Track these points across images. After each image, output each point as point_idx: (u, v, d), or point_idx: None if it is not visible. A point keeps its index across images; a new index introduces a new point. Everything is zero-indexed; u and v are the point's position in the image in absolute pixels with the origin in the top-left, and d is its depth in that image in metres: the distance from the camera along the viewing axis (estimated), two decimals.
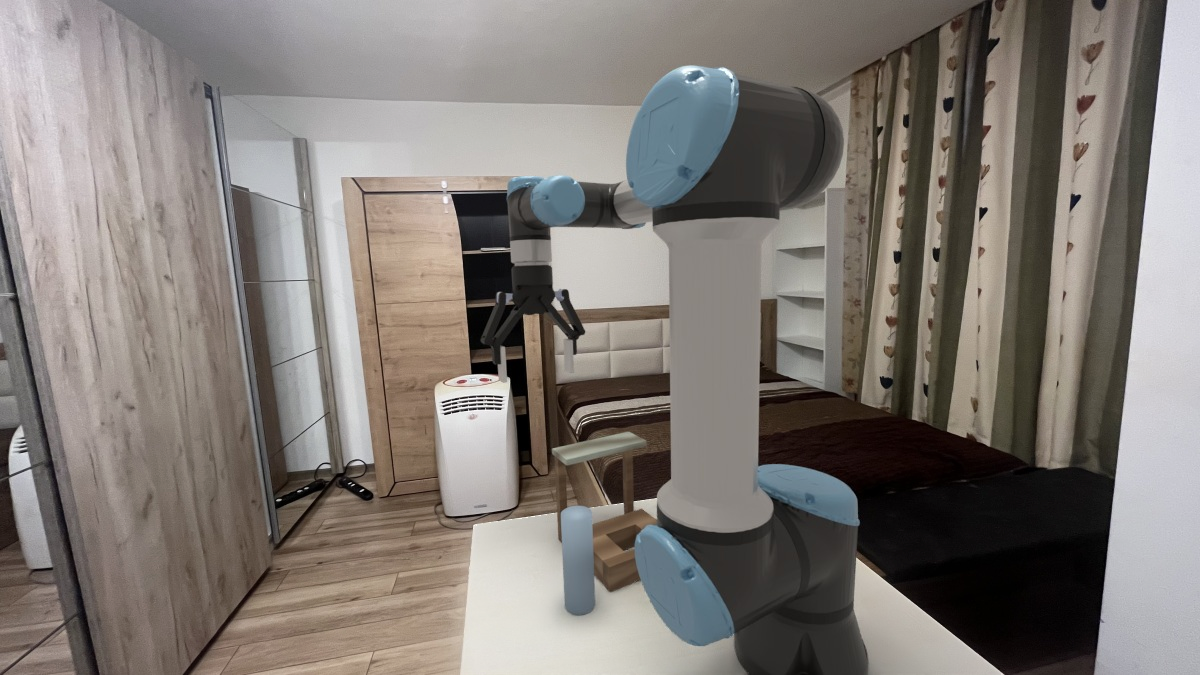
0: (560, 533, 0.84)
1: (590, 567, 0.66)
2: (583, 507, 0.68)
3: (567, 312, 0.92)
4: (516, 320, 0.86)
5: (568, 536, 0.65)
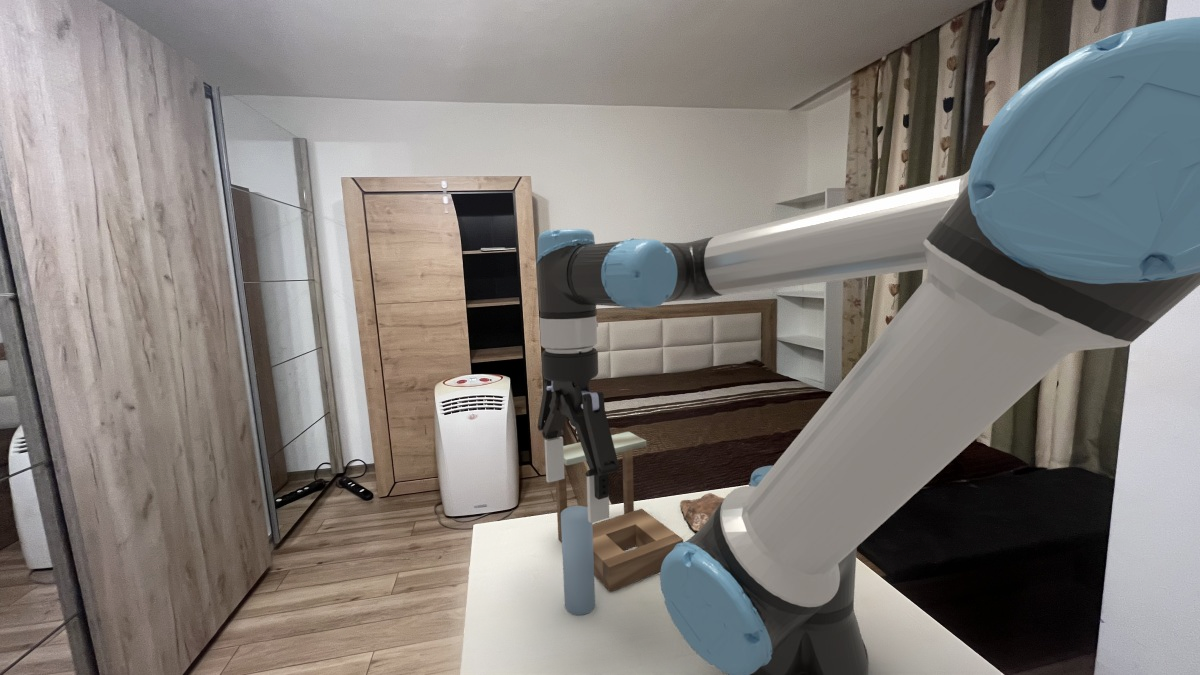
0: (560, 533, 0.84)
1: (590, 567, 0.66)
2: (583, 507, 0.68)
3: None
4: (552, 415, 0.67)
5: (568, 536, 0.65)
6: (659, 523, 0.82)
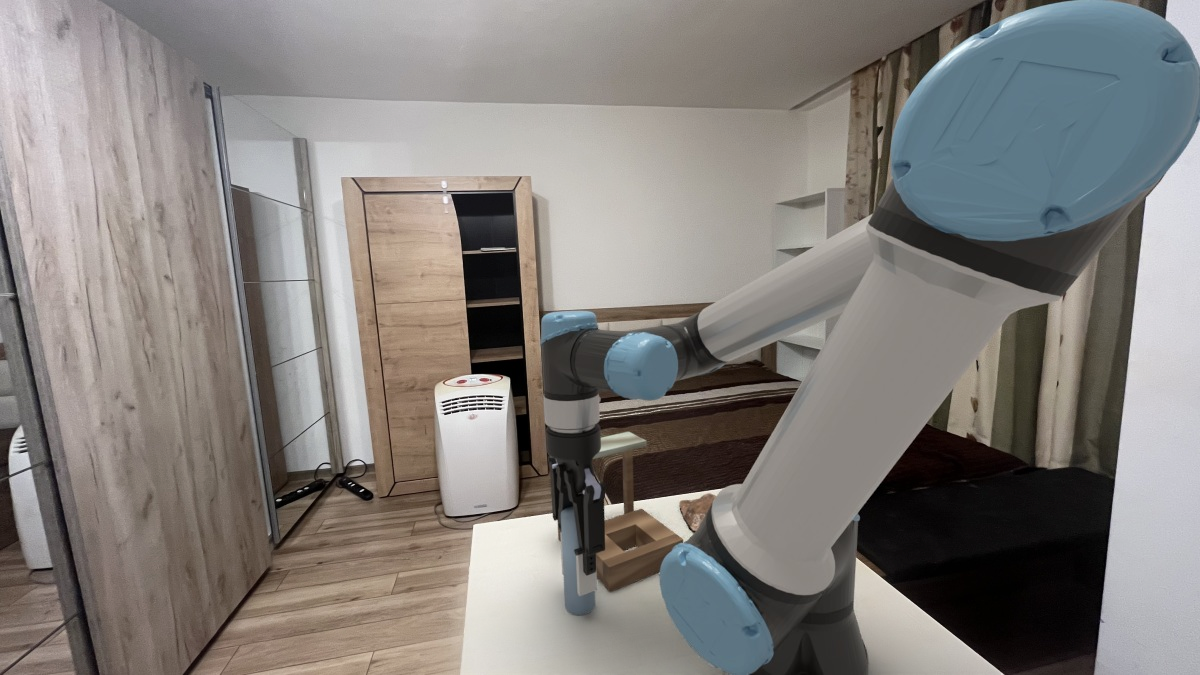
0: None
1: None
2: None
3: None
4: (562, 496, 0.67)
5: (568, 536, 0.65)
6: (659, 523, 0.82)
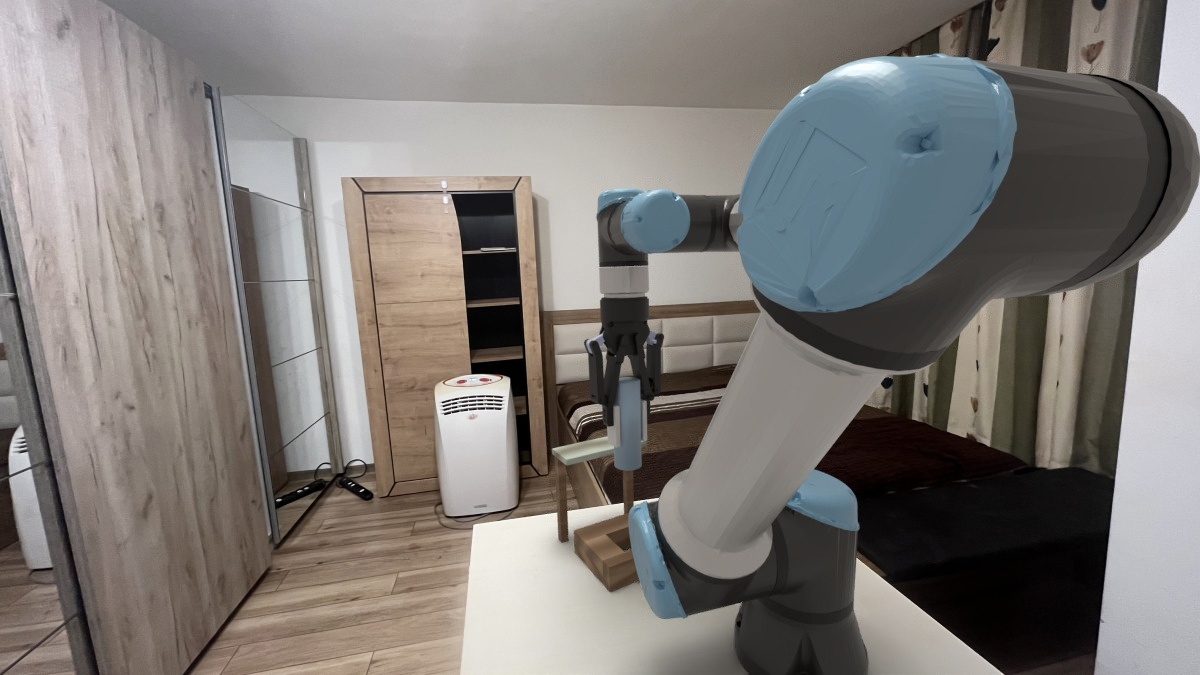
0: (560, 533, 0.84)
1: None
2: None
3: (651, 360, 0.76)
4: (619, 367, 0.72)
5: (639, 395, 0.74)
6: None
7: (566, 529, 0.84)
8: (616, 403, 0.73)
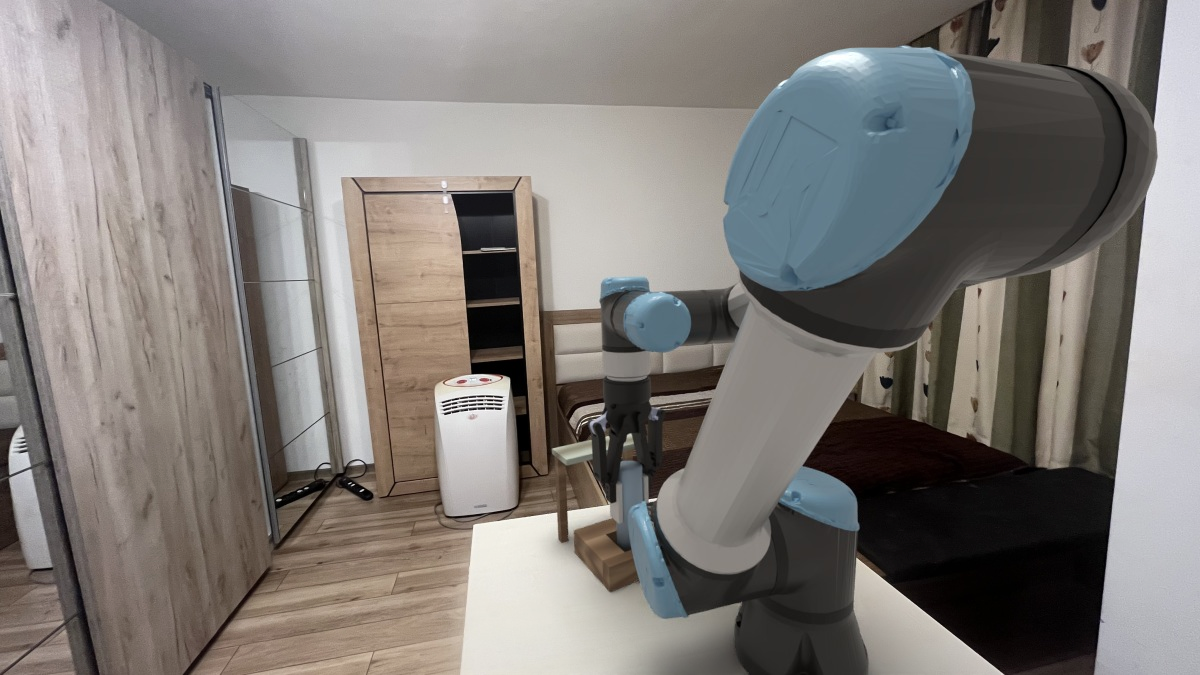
0: (560, 533, 0.84)
1: None
2: None
3: (652, 436, 0.78)
4: (621, 446, 0.74)
5: (641, 482, 0.76)
6: None
7: (566, 529, 0.84)
8: None
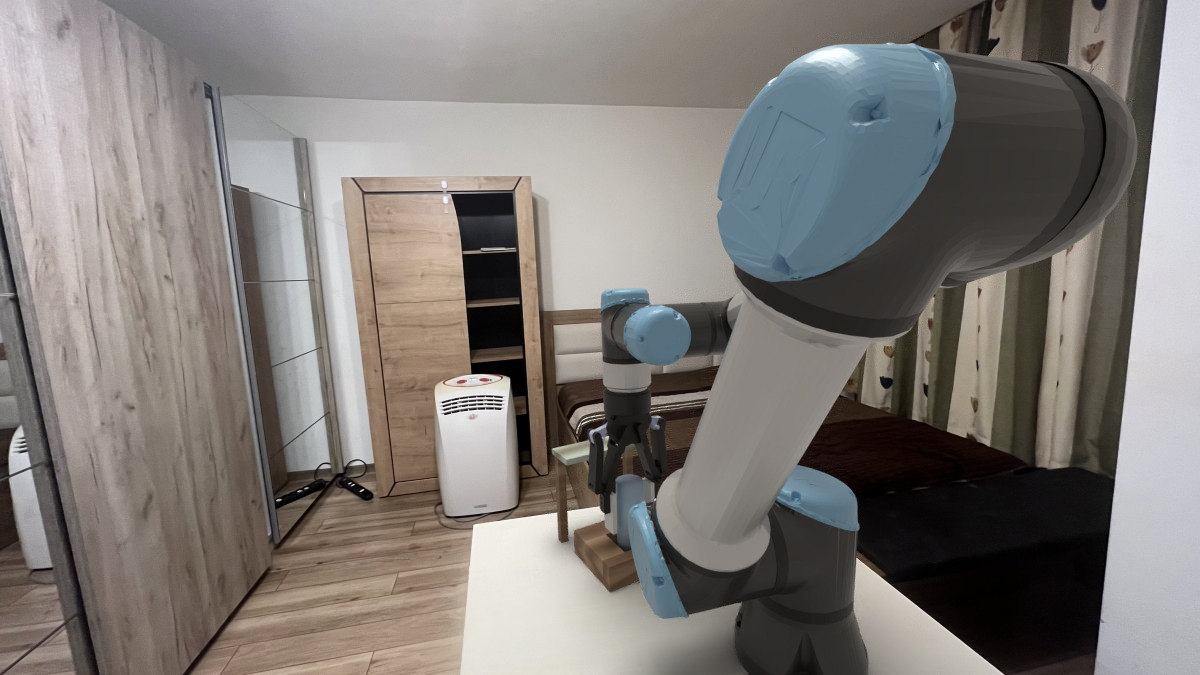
0: (560, 533, 0.84)
1: None
2: (619, 477, 0.77)
3: (655, 444, 0.78)
4: (619, 458, 0.74)
5: (642, 496, 0.76)
6: None
7: (566, 529, 0.84)
8: (619, 503, 0.76)
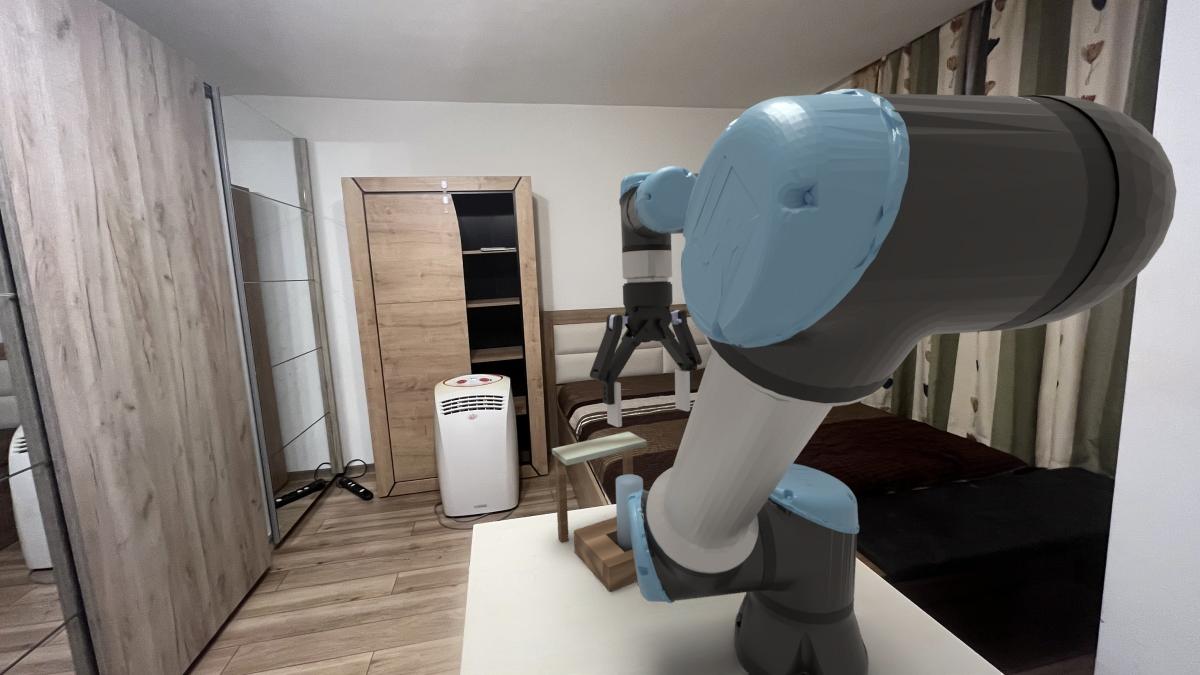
0: (560, 533, 0.84)
1: None
2: (619, 477, 0.77)
3: (682, 338, 0.77)
4: (632, 349, 0.70)
5: None
6: None
7: (566, 529, 0.84)
8: (619, 504, 0.76)
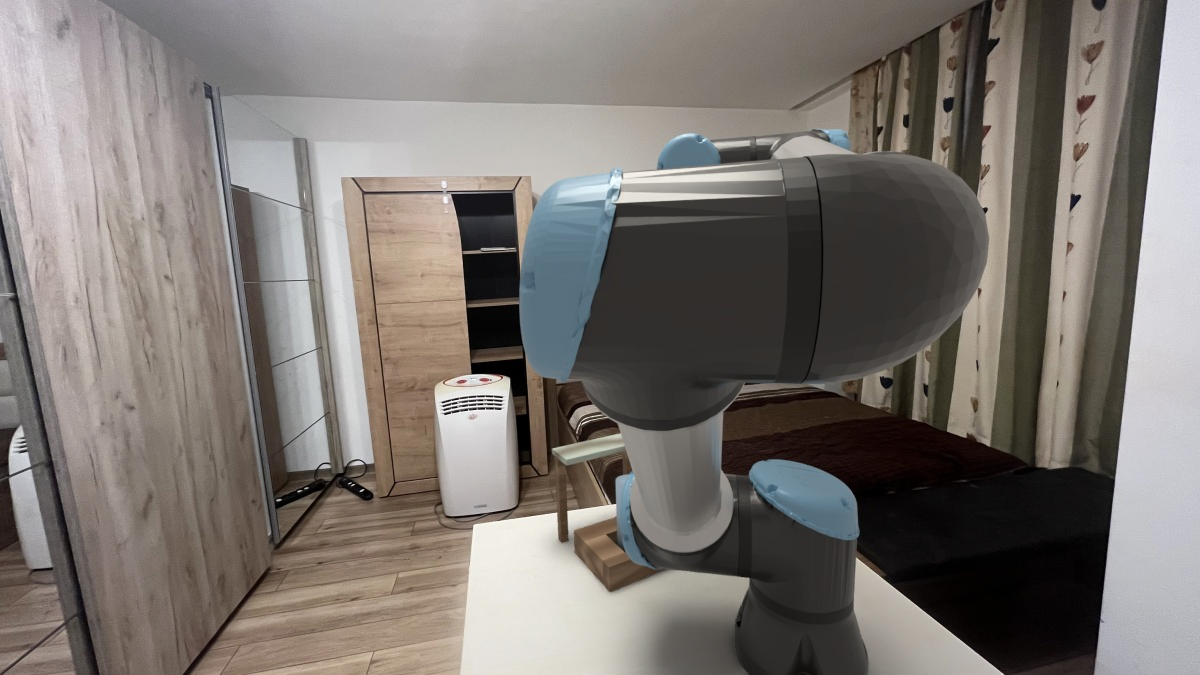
0: (560, 533, 0.84)
1: None
2: (618, 477, 0.77)
3: None
4: None
5: None
6: None
7: (566, 529, 0.84)
8: (619, 504, 0.76)
